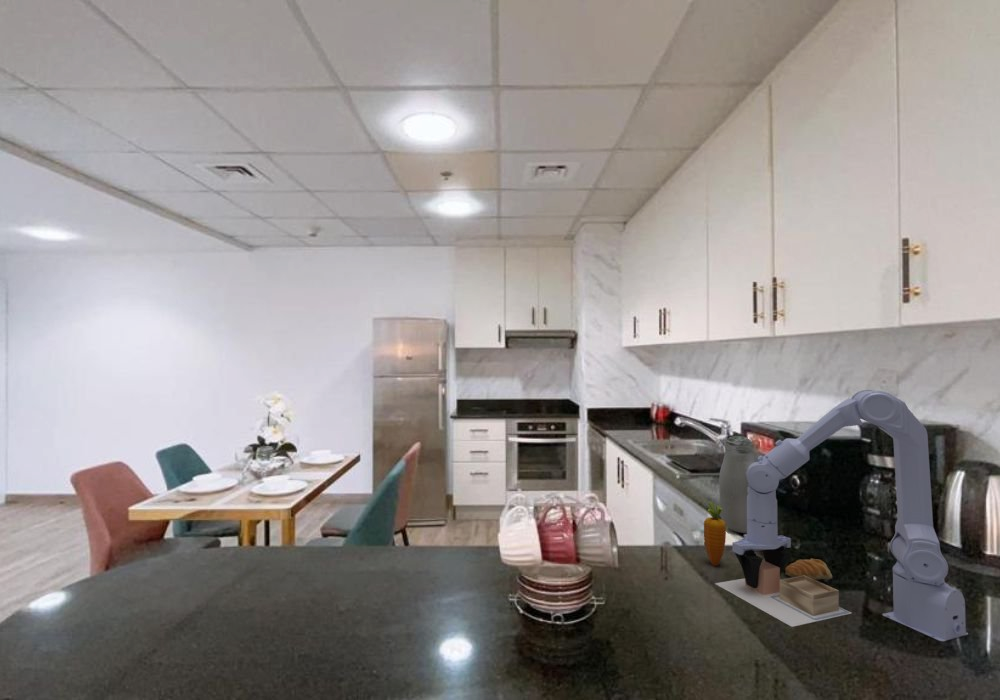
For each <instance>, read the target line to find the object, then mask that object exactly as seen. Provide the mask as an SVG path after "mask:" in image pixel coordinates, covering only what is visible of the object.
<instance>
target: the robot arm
mask: <svg viewBox="0 0 1000 700" xmlns="http://www.w3.org/2000/svg"><path fill="white" fill-rule="evenodd" d="M862 420H863V421H865V422H867V423H871V424H873V425H874V426H877V427H878V429H880V430H882V431H883V432H884V433H886V434H887V435H888V436H890V437H891V438H892V441H893V457H894V458H893V459H894V475H895V493H896V494H895V496H896V509H897V521H896V523H895V525H894V531H895V533H894V536H893V537H892V539H891V540H890V543H889V549H890V552H891V554H892V555H893V557H894V558H895V559H896V560H897V561H896V563H895V564H894V565H893V566H892V596H893V597H892V598H893V599H892V603H893V606H892V607H893V611H890V612H886V613H885V612H884V613H882V614H881V615H882V616H883V617H885V618H888V619H890V620H892V621H894V622H897V623H899V624H902V625H904V626H906V627H907V628H908V627H909V628H910V629H913V630H915V631H917V632H918V633H922V634H924V635H926V636H928V637H931V638H933V639H935V640H937V641H940V642H946V641H947V642H948V641H949V640H954V639H956V638H959V637H963V636H967V635H969V633H968V632H967V628H966V622H967V621H966V600H965V597H964V595H963V593H962V591H960V590H958V589H957V588H954V587H952V586H950V585H949V584H948V583H946V582H945V578H946V577H947V575H948V572H949V565H948V562H947V560H946V558H945V557H944V555H943V554H942V552H941V545H940V544H941V543H940V541H939V538H938V536H937V533H936V531H935V528H934V521H933V520H934V519H933V501H932V500H933V499H932V486H931V484H932V483H931V471H930V453H929V439H928V438H929V437H928V431H927V429H926V427H925V426H924V425H923V424H922V423H921V422H920V420H919V419H918V418H917V417H916V416H915V415H914V413H913V412H912V411H911V410H910V409H909V407H908V405H907V404H906V402H905V401H903V400H901V399H900V398H898V397H896V396H895V395H893V394H890V393H889V392H886V391H882V390H873V389H864V390H860V391H857V392H856V393H854V394H853V395H852V396H851V398H846V399H845V400H843V401H841V402H840V403H839V404H837V405H835V406H834V407H833V408H832V409H831V410H829V411H827V412H826V414H824V415H823V416H822V417H821V418H820V419H818V420H817V421H816V422H815V423H814V424H813V425H811V426H810V427H809V428H808V429H806V430H805V431H804V432H803V433H802V434H801V435H800V436H798V437H797V438H790V437H789V438H785V439H784V440H781V439H778V440H777V441H776V442H774V444H775V447H773V448H772V449H770V451H768V452H767V453H765V455H759V456H758V457H757V460H758V461H755V462H754V463H752V464H751V465H750V466H749V467H748V469H747V472H746V476H747V481H748V483H749V484H748V488H747V492H748V495H747V533H743V538H741V539H739V540H737V541H733V542H732V543H731V544H732V552H733V553H734V555H735V556H736V558H737V560H738V561H739V563H740V566H741V569H742V573H743V577H744V578H745V580H746V584H747V585H748V586H750V587H752V588H757V586H758V574H759V569H760V565H761V563H762V560H764V561H766V562H768V563H770V564H773V565H775V566H777V567H779V568H780V577H781V575H782V572H783V570H784V569H783V568H784V566H785V565H786V563H787V561H788V560H789V559H790V558H791V552H790V551H789V550H788V549H789V548H792V542H791V541H792V538H790V537H788V536H784V535H778V534H779V533H778V499H777V492H776V491H777V489H778V487H779V484H780V480H783V479H786V478H787V477H788V476H790V475H792V473H794V472H795V471H797V470H798V469H799V468H801V467H802V466H803V465H804V464H807V462H808V461H810V451H812V450H814V448H816V447H817V446H819V445H820V444H821V443H823V442H825V441H826V440H827V439H829V438H830V437H832V436H833V435H834V434H836V433H838V432H839V431H840V430H841V429H843V428H847V427H853V426H861V425H862V426H863V425H864V423H863V421H862ZM785 548H787V549H785ZM759 551H762V553H763V557H761V556H759V555H757V553H755V552H759Z"/></svg>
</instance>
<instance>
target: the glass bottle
mask: <svg viewBox="0 0 1000 700" xmlns="http://www.w3.org/2000/svg"><path fill="white" fill-rule="evenodd" d="M754 449H755V448H754V445H753V442H752V441H751V439H749V438H748V437H745V436H742V435H734V436H730V437H729V438H727V440H726V442H725V446H724V454H723V461H722V464H721V466H720V470H719V475H718V476H719V479H718V485H719V486H718V487H719V490H718V491H719V507H720V508H722V511H721V512H720V515H719V516H720V519H721V520H723V521H724V522H725V523H726V529H727V528H728V530H730V531H733V532H735V533H742V534H747V495H748V492H747V488H748V484H749V483H748V481H747V476H746V472H747V469H748V467H749V466H750V465H751V464H752V463H754V462H756V461H755V454H754Z"/></svg>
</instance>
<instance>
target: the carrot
mask: <svg viewBox="0 0 1000 700" xmlns="http://www.w3.org/2000/svg"><path fill="white" fill-rule="evenodd" d="M708 505H709V507H710V508H708V509H707V512H708V513H709V515H710V516H709V517H707V518H706V519H704V522H703V533H704V534H703V537H704V538H703V539H704V545H705V551H706V555H707V556H708V559H709V561H710V563H711V565H713V566H714V567H715V566H717V567H718V566H719V564H720V562H721V560H722V557H723V555H724V551H725V545H726V538H727V537H726V534H727V527H726V523H725V522H724V521H723V520H722V519H721V518H720V516H721V515H720V512H721V511H722V508H720V505H716V506H714V504H713V502H712V501H709V502H708ZM715 507H716V508H715Z"/></svg>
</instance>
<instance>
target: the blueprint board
mask: <svg viewBox="0 0 1000 700" xmlns="http://www.w3.org/2000/svg"><path fill="white" fill-rule="evenodd" d="M780 580H781V578H780ZM714 584H715V585H716V586H718V587H720V588H721V589H723V590H725V591H727V592H729V593H731V594H733V595H734V596H736V597H738V598H739V599H742V600H743V601H744V602H747V603H748V604H750V605H752V606H754V607H755V608H757V609H759V610H761V611H763V612H764V613H767V614H768V615H770V616H771V617H773V618H775V619H777V620H779V621H781V622H782V623H784V624H786V625H788V626H790V627H791V628H793V627H797V626H798V627H799V626H802V625H807V624H812V623H815V622H816V623H817V622H820V621H824V620H828V619H834V618H837V617H842V616H846V615H850V614H852V612H851V611H850V610H849V611H848V610H846V609H844V608H843V607H840V606H839V610H838V611H834V612H829V613H825V614H820V615H816V616H812V615H810V614H808V613H806V612H804V611H802V610H800V609H799V608H797V607H795V606H793V605H791V604H789V603H787V602H785V601H783V600H781V599H780V592H778V593H772V594H767V595H762V594H761V593H759V592H757V591H755V590H753V589H751V588H749V587H747V586H745V577H744V578H740V579H739V578H738V579H733V580H727V581H721V582H715V583H714Z"/></svg>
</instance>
